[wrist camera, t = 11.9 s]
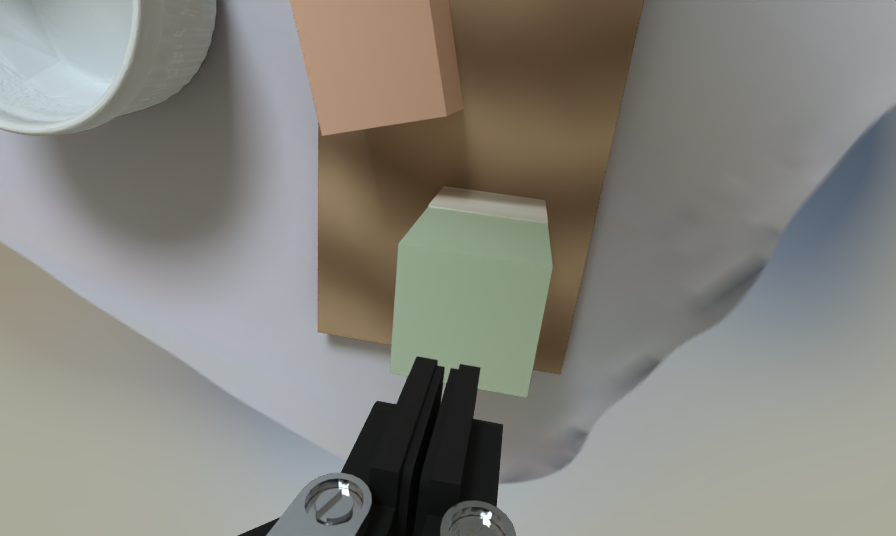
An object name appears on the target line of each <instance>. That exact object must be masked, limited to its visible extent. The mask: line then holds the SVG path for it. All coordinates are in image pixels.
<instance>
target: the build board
mask: <svg viewBox="0 0 896 536" xmlns="http://www.w3.org/2000/svg"><path fill="white" fill-rule="evenodd" d="M643 2H644V0H449V7H450V15H451V22H452V29H453V36H454V43H455V50H456V58H457V65H458V72H459V79H460V86H461V93H462V101H463V108H464V109H462V110H460V111H457V112H455V113H453V114H451V115H448V116H445V117H438V118H432V119H426V120H419V121H413V122H407V123H400V124H394V125H388V126H381V127H375V128H368V129H362V130H356V131H349V132H343V133H337V134H330V135H324V136H322V134H321V129H320V125H319V135H318V332H320V333H325V334H331V335H337V336H343V337H348V338H354V339H360V340H366V341H371V342H377V343H383V344H388V345H392V330H393V316H394V301H395V287H396V272H397V258H398V244H399V242H400V241H401V240H402V239H403V237H404V236H405V235H406V234H407V232H408V231H409V230H410V229H411V227H412V226H413V225H414V224H415V222H416V221H417V220H418V219H419V218H420V216H421V215H422V214H423V213H424V211H425V210H426V209H427V208H428V207H433V208H440V209H447V210H454V211H461V212H468V213H475V214H482V215H489V216H496V217H503V218H510V219H517V220H524V221H531V222H538V223H545V224H548V230H549V239H550V247H551V256H552V264H553V269H552V274H551V279H550V284H549V289H548V294H547V299H546V304H545V309H544V314H543V319H542V324H541V329H540V334H539V340H538V345H537V350H536V355H535V360H534V365H533V370H538V371H543V372H549V373H555V374H561V370H562V365H563V361H564V356H565V352H566V347H567V343H568V338H569V334H570V329H571V325H572V321H573V316H574V312H575V307H576V303H577V298H578V294H579V289H580V285H581V280H582V276H583V271H584V267H585V262H586V258H587V253H588V249H589V244H590V240H591V235H592V231H593V226H594V222H595V217H596V213H597V209H598V204H599V200H600V195H601V191H602V186H603V182H604V177H605V173H606V168H607V164H608V159H609V155H610V150H611V146H612V141H613V137H614V132H615V128H616V123H617V119H618V114H619V110H620V105H621V101H622V97H623V92H624V88H625V83H626V79H627V74H628V70H629V65H630V61H631V56H632V52H633V47H634V43H635V38H636V34H637V29H638V25H639V20H640V16H641V11H642V7H643Z"/></svg>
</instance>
